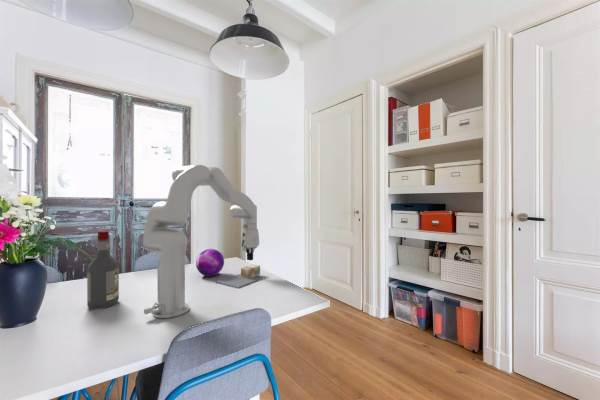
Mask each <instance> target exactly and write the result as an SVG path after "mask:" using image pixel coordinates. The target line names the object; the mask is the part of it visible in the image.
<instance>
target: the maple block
mask: <svg viewBox="0 0 600 400" xmlns="http://www.w3.org/2000/svg"><path fill="white" fill-rule="evenodd" d="M240 274H241V278H246V279H249V278H252V277H254V276H261V265H258V264H251V265H247V266H244V267H241V268H240Z"/></svg>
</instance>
